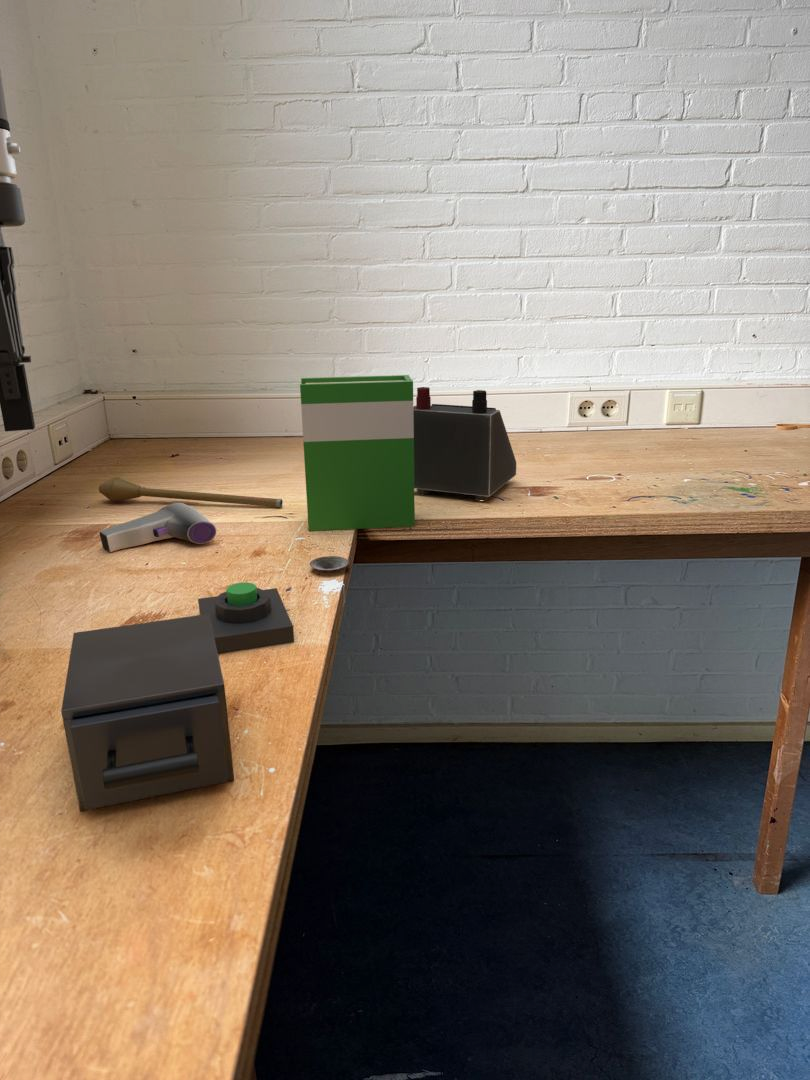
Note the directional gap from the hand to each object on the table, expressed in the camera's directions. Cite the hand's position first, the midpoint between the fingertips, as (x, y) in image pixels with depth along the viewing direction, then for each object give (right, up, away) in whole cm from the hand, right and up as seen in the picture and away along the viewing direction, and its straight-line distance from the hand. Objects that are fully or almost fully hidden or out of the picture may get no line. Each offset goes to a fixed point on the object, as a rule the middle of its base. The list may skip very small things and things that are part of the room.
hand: (20, 428), depth 83 cm
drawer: (+18, -31, -13) cm, 38 cm away
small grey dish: (+29, -16, +32) cm, 46 cm away
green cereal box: (+33, -9, +53) cm, 63 cm away
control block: (+20, -22, +15) cm, 34 cm away
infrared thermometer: (+1, -13, +44) cm, 46 cm away
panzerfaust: (0, -5, +64) cm, 65 cm away
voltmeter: (+51, -2, +72) cm, 88 cm away
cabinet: (+17, -31, -9) cm, 36 cm away
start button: (+20, -19, +14) cm, 31 cm away
